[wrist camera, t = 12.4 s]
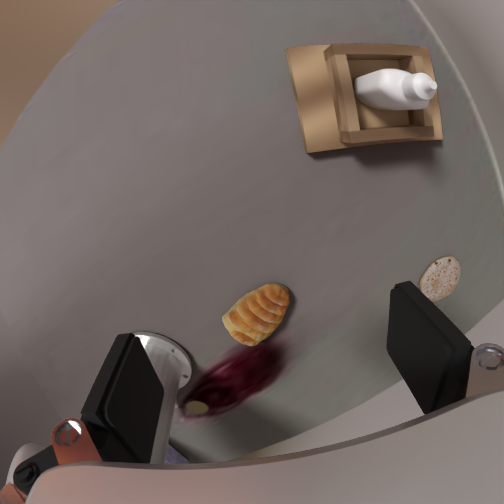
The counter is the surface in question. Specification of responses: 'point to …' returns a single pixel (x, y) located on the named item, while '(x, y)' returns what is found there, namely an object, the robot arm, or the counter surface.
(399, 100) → the eye dropper bottle
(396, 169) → the counter surface
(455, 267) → the flatbread
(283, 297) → the pastry
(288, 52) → the holder stand
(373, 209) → the counter surface
